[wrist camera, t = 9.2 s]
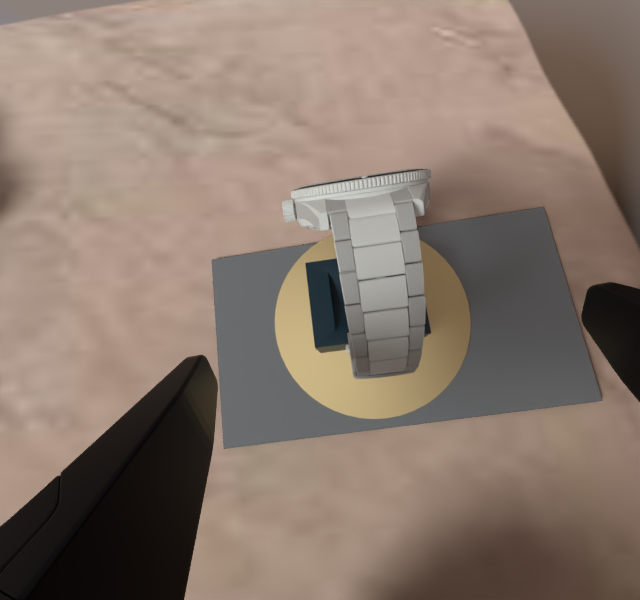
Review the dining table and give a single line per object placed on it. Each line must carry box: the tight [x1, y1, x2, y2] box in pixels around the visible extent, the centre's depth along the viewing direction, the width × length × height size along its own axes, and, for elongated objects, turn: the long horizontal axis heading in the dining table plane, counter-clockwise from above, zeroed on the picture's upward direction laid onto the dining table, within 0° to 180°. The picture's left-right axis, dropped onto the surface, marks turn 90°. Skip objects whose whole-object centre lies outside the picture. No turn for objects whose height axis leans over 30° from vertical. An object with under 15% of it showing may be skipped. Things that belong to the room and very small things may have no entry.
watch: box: [282, 169, 431, 379], centre depth 15 cm, size 6×8×11 cm
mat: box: [212, 207, 603, 449], centre depth 21 cm, size 12×20×1 cm, turn 98°
